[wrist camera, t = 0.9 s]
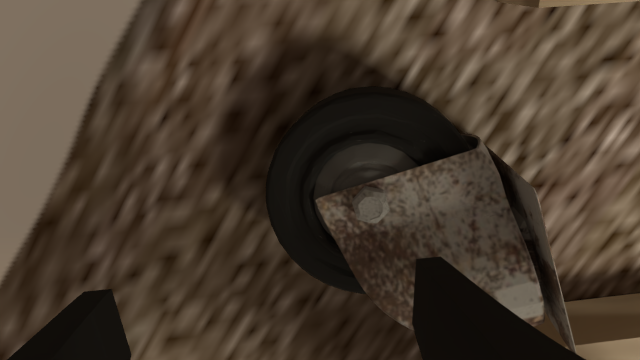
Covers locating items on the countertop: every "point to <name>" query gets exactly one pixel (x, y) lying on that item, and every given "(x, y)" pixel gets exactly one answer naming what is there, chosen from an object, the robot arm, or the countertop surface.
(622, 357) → the frame
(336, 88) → the countertop surface
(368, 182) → the caster wheel
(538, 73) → the countertop surface
